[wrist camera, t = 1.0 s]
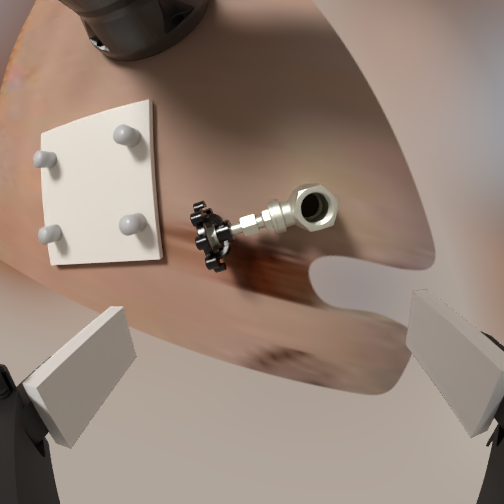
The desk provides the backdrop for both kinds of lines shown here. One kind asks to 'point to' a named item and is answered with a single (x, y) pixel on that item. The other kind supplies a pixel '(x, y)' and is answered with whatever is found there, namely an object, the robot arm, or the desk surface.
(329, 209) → the valve
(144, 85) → the desk surface
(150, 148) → the mounting plate
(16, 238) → the desk surface
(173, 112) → the desk surface
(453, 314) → the robot arm
